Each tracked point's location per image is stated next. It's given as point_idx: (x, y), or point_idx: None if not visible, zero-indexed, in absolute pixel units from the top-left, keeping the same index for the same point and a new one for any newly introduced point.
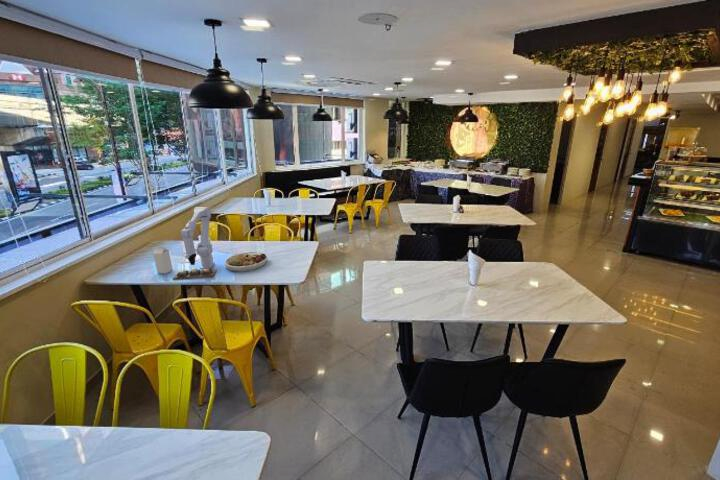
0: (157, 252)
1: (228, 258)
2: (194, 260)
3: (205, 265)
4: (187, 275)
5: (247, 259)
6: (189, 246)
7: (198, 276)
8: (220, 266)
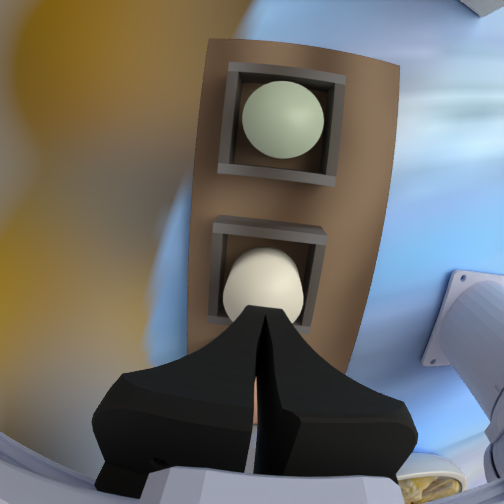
0: None
1: (434, 474)
2: (258, 416)
3: (451, 333)
4: (251, 184)
5: None
6: None
7: (188, 314)
8: (411, 413)
